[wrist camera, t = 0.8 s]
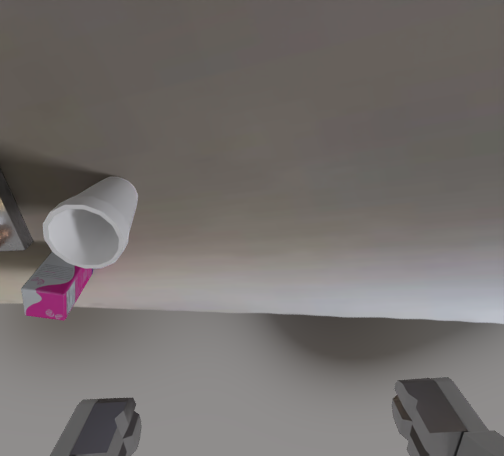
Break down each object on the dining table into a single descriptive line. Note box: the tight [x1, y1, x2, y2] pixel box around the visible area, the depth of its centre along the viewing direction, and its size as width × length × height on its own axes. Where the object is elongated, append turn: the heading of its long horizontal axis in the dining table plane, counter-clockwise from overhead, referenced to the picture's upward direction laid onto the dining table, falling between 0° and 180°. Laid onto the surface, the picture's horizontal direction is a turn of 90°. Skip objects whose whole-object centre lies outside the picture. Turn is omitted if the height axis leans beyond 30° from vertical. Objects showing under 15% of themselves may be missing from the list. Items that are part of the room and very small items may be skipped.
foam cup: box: [43, 177, 138, 269], centre depth 43 cm, size 10×9×13 cm
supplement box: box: [21, 252, 93, 320], centre depth 50 cm, size 6×6×12 cm
